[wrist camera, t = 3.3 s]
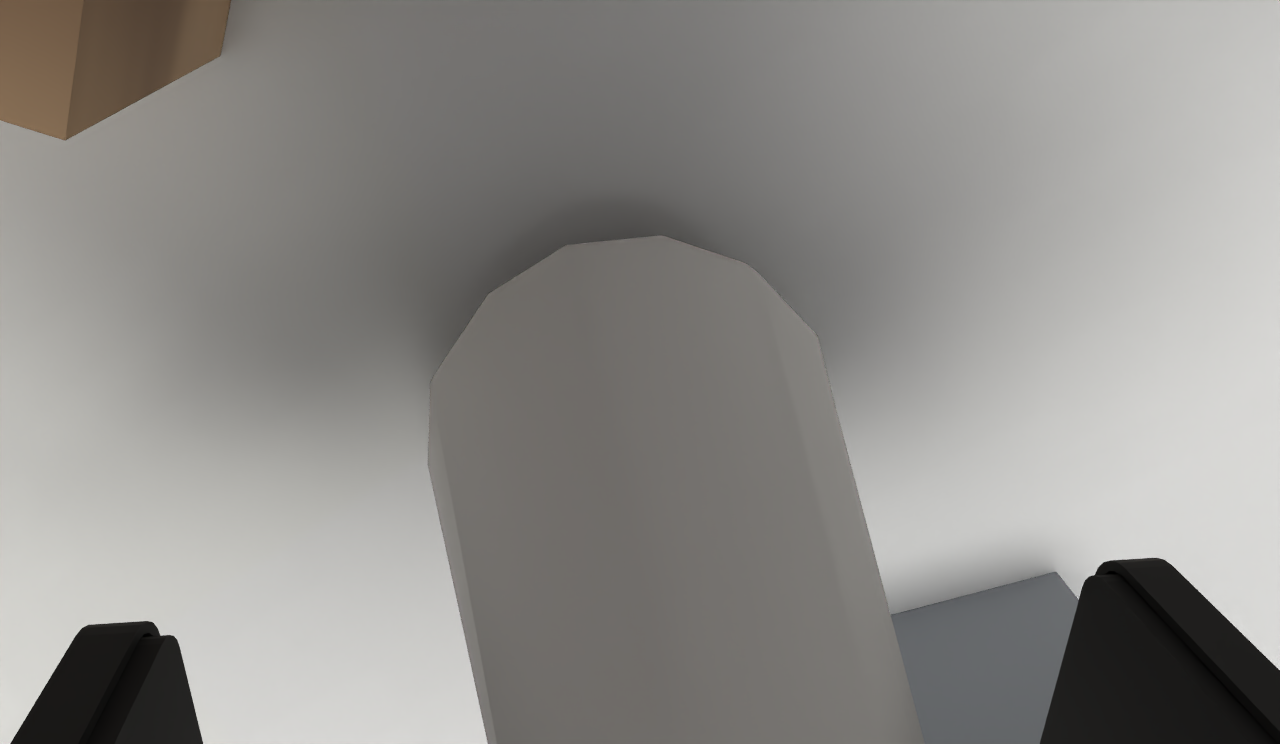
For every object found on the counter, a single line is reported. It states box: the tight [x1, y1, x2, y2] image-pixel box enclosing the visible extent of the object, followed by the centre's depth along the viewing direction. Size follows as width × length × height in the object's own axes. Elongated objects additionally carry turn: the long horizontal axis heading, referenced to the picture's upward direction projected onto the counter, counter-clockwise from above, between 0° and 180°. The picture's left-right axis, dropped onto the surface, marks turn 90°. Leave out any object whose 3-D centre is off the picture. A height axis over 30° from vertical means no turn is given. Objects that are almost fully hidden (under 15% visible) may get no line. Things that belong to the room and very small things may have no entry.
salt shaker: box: [428, 235, 925, 744], centre depth 10 cm, size 6×6×13 cm
